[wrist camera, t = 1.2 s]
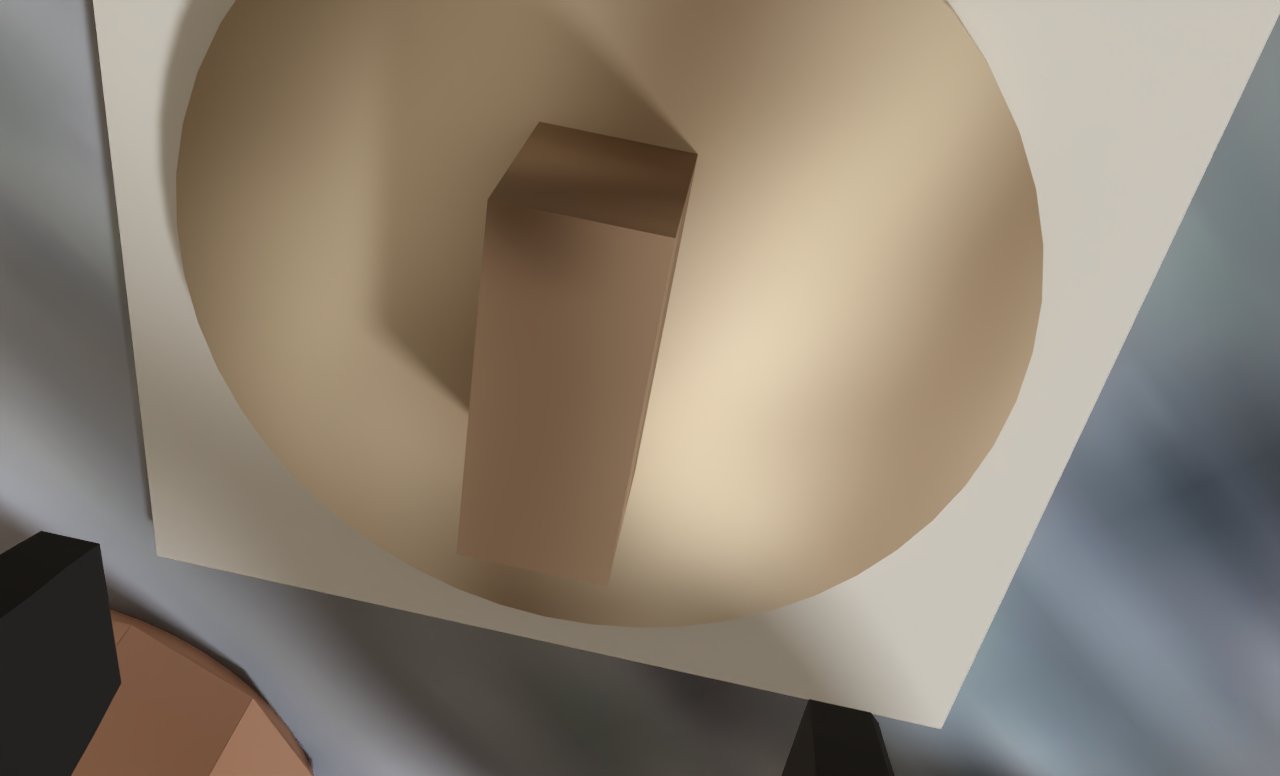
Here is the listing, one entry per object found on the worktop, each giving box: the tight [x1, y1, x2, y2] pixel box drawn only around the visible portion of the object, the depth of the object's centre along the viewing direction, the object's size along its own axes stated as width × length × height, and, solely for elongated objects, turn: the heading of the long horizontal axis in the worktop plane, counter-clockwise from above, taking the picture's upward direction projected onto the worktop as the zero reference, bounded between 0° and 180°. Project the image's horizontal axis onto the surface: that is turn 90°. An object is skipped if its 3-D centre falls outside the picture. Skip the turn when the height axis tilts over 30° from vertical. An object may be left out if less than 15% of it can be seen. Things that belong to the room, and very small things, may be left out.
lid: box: [176, 0, 1043, 628], centre depth 17 cm, size 14×14×4 cm
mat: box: [93, 0, 1280, 729], centre depth 19 cm, size 17×17×1 cm
